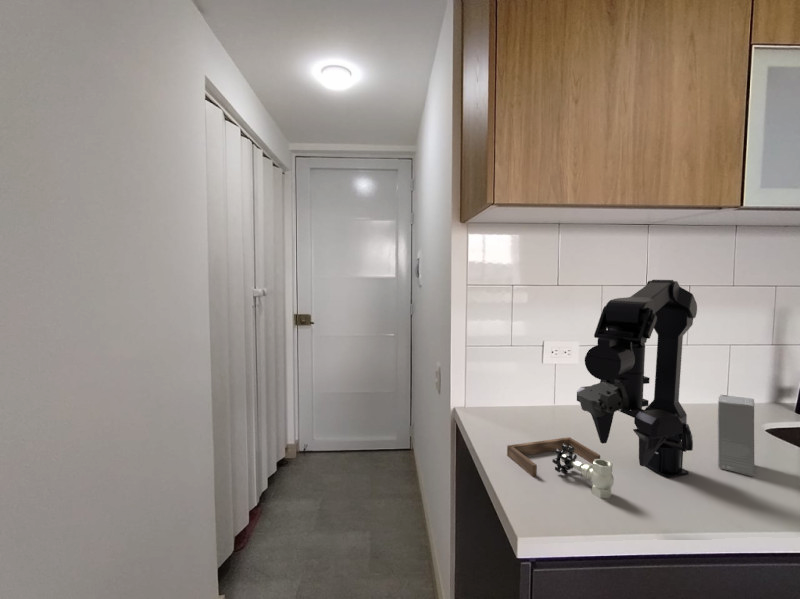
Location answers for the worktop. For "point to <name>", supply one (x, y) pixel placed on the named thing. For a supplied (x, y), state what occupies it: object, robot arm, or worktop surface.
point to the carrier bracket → (520, 450)
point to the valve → (587, 471)
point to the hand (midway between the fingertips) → (622, 453)
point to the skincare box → (736, 434)
